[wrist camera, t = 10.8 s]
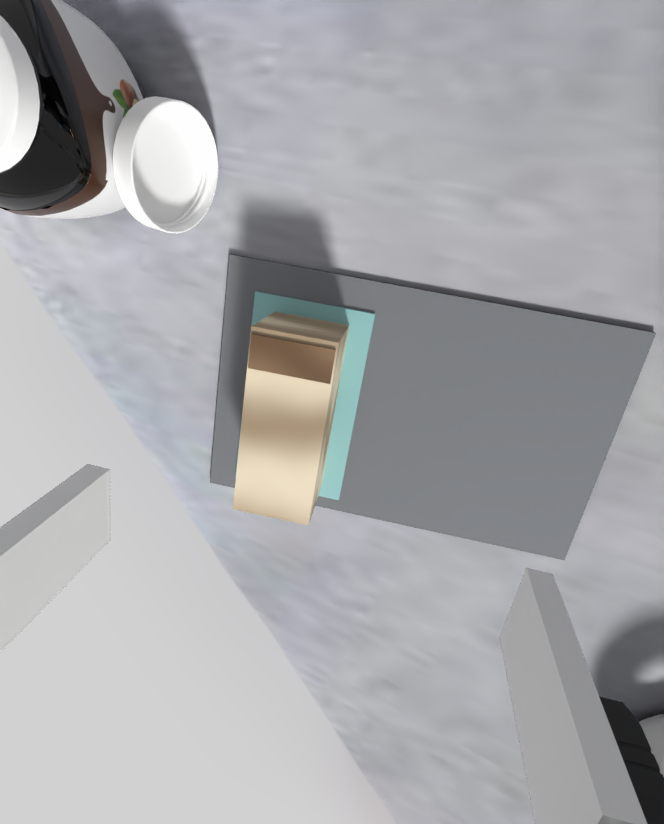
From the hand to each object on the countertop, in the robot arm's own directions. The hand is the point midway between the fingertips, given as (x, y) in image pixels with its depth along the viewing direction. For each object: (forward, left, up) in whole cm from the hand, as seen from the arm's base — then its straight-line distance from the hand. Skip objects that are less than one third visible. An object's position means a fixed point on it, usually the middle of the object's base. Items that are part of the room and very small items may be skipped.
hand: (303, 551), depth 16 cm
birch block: (+3, -4, -20) cm, 20 cm away
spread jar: (-12, -17, -20) cm, 29 cm away
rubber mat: (+2, +4, -20) cm, 21 cm away
